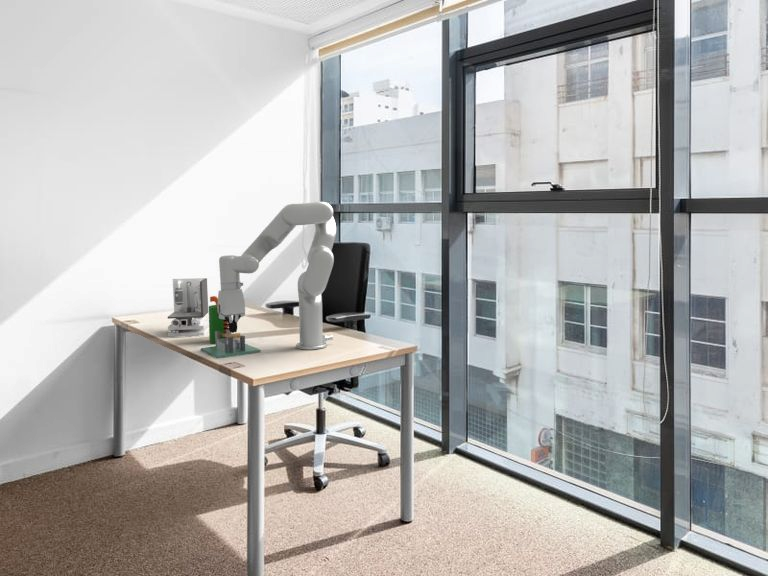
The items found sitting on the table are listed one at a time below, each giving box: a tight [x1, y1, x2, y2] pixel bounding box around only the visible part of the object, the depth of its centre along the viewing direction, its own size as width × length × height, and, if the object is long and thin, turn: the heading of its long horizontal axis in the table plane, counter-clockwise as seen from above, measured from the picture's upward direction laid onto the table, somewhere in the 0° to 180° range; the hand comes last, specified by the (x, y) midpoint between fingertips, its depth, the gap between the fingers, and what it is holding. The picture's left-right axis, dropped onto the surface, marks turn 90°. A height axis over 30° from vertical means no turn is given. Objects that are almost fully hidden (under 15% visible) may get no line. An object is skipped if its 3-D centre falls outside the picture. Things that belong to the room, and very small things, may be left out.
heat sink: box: [215, 329, 240, 352], centre depth 247 cm, size 8×12×6 cm, turn 36°
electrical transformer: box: [167, 277, 209, 337], centre depth 282 cm, size 16×19×25 cm
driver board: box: [200, 334, 262, 359], centre depth 245 cm, size 18×18×7 cm
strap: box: [220, 332, 241, 339], centre depth 245 cm, size 3×14×2 cm, turn 36°
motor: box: [208, 295, 229, 345], centre depth 264 cm, size 10×9×20 cm
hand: (233, 332), depth 243 cm, fingers closed
